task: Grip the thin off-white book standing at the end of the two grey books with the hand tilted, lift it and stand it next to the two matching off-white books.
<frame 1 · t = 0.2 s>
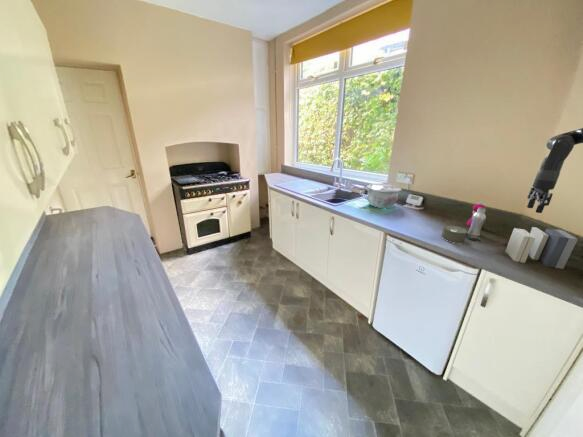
hand: (533, 210, 120), 24 cm above the counter, tool pointing down, fingers open, 8 cm apart
chamber pot: (380, 206, 202), on the counter
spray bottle: (471, 231, 155), on the counter
white books: (514, 256, 123), on the counter
can: (452, 239, 142), on the counter
white book: (530, 255, 125), on the counter
grey books: (547, 262, 119), on the counter
plastic bottle: (471, 240, 142), on the counter
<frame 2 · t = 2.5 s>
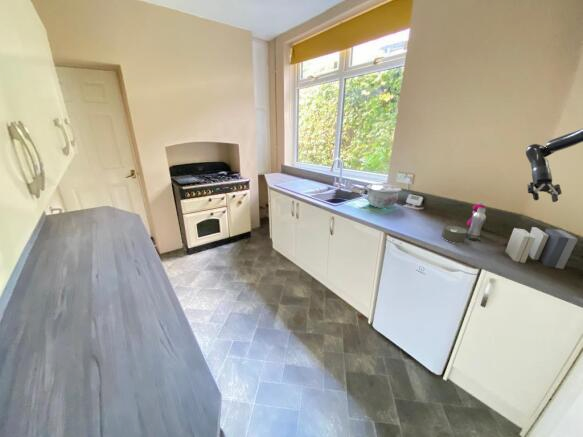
hand: (545, 200, 130), 26 cm above the counter, tool tilted 40°, fingers open, 8 cm apart
nothing on the counter moved.
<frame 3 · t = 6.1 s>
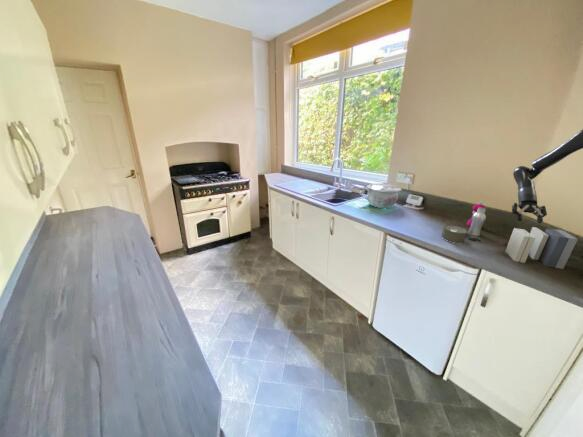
hand: (529, 221, 130), 15 cm above the counter, tool tilted 45°, fingers open, 8 cm apart
nothing on the counter moved.
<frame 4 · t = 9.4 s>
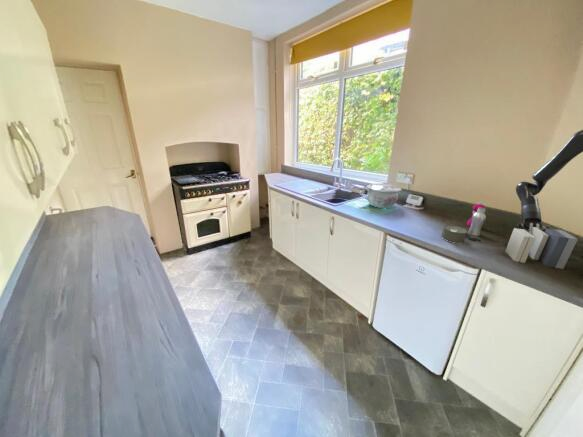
hand: (534, 242, 124), 7 cm above the counter, tool tilted 45°, fingers closed on white book, 2 cm apart
white book: (530, 255, 125), on the counter, touching gripper
everything else where it was.
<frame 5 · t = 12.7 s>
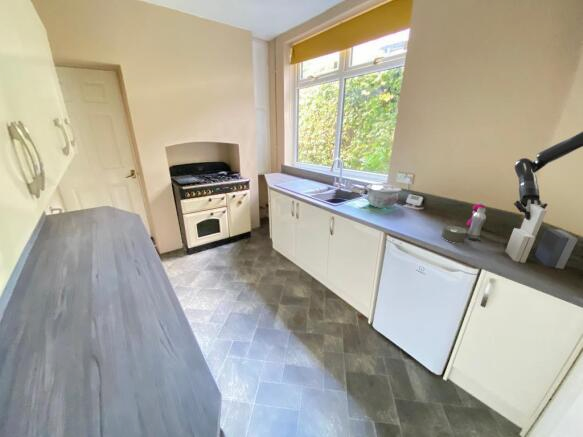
hand: (531, 219, 121), 19 cm above the counter, tool tilted 45°, fingers closed on white book
white book: (527, 232, 123), point 12 cm above the counter, touching gripper
everything else where it was.
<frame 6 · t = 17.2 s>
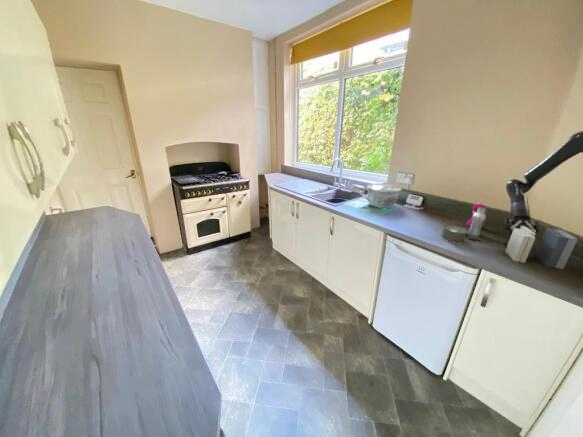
hand: (522, 238, 126), 8 cm above the counter, tool tilted 45°, fingers open, 8 cm apart
white book: (518, 253, 127), on the counter
everything else where it was.
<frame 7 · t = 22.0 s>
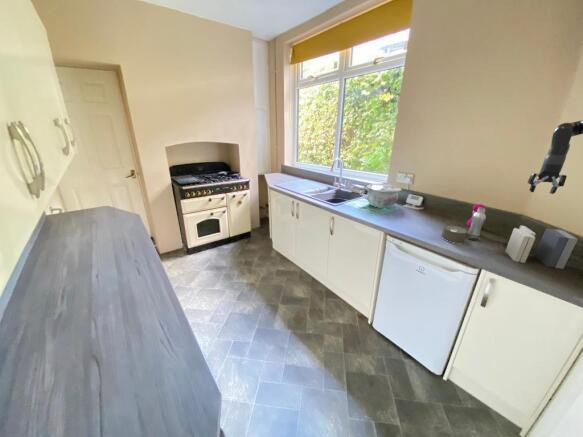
hand: (541, 192, 131), 30 cm above the counter, tool pointing down, fingers open, 8 cm apart
nothing on the counter moved.
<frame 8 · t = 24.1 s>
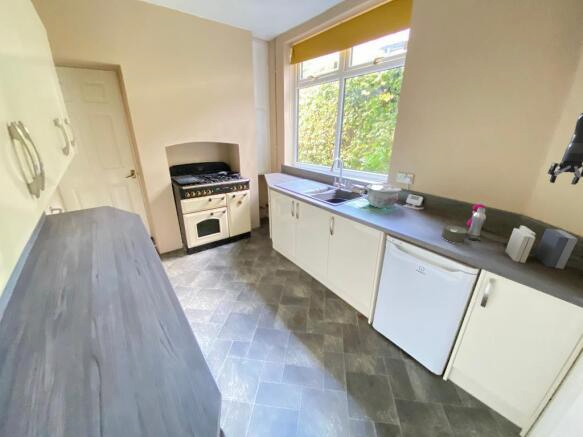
hand: (562, 183, 125), 36 cm above the counter, tool pointing down, fingers open, 8 cm apart
nothing on the counter moved.
at the end: white book 0.2 cm from the target spot, on the counter; white book tilted 0°; the gripper is holding nothing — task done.
